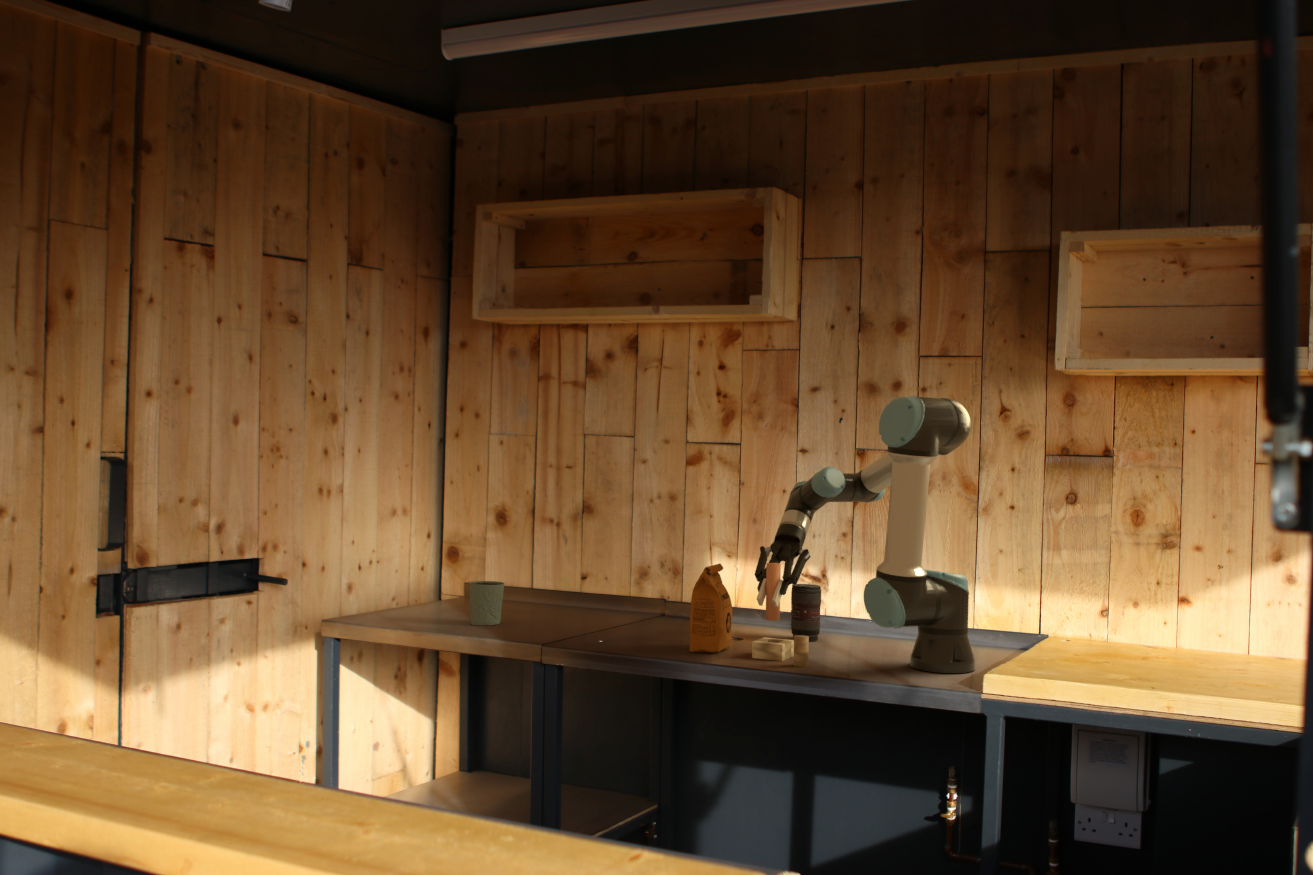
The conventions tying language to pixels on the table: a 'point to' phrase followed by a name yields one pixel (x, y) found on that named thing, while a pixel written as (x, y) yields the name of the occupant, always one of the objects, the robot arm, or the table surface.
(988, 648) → the table surface
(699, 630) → the coffee package
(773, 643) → the collar block
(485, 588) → the green plant pot
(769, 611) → the long dowel
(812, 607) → the camera lens
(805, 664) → the short dowel
